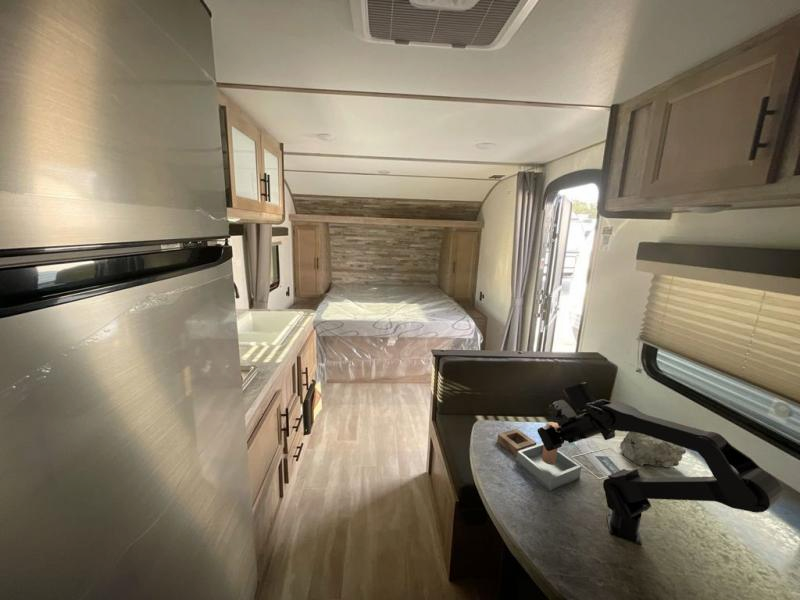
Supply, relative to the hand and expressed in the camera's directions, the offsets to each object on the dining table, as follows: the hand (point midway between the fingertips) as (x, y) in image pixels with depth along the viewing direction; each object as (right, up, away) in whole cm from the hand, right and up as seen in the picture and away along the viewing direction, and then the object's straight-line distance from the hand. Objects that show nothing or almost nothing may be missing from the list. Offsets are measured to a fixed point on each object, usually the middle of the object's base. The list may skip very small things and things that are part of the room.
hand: (547, 439), depth 100 cm
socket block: (-5, -8, +12) cm, 15 cm away
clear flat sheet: (+21, -11, +5) cm, 25 cm away
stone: (+38, -11, +7) cm, 40 cm away
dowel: (0, -7, 0) cm, 7 cm away
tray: (0, -10, +1) cm, 10 cm away
